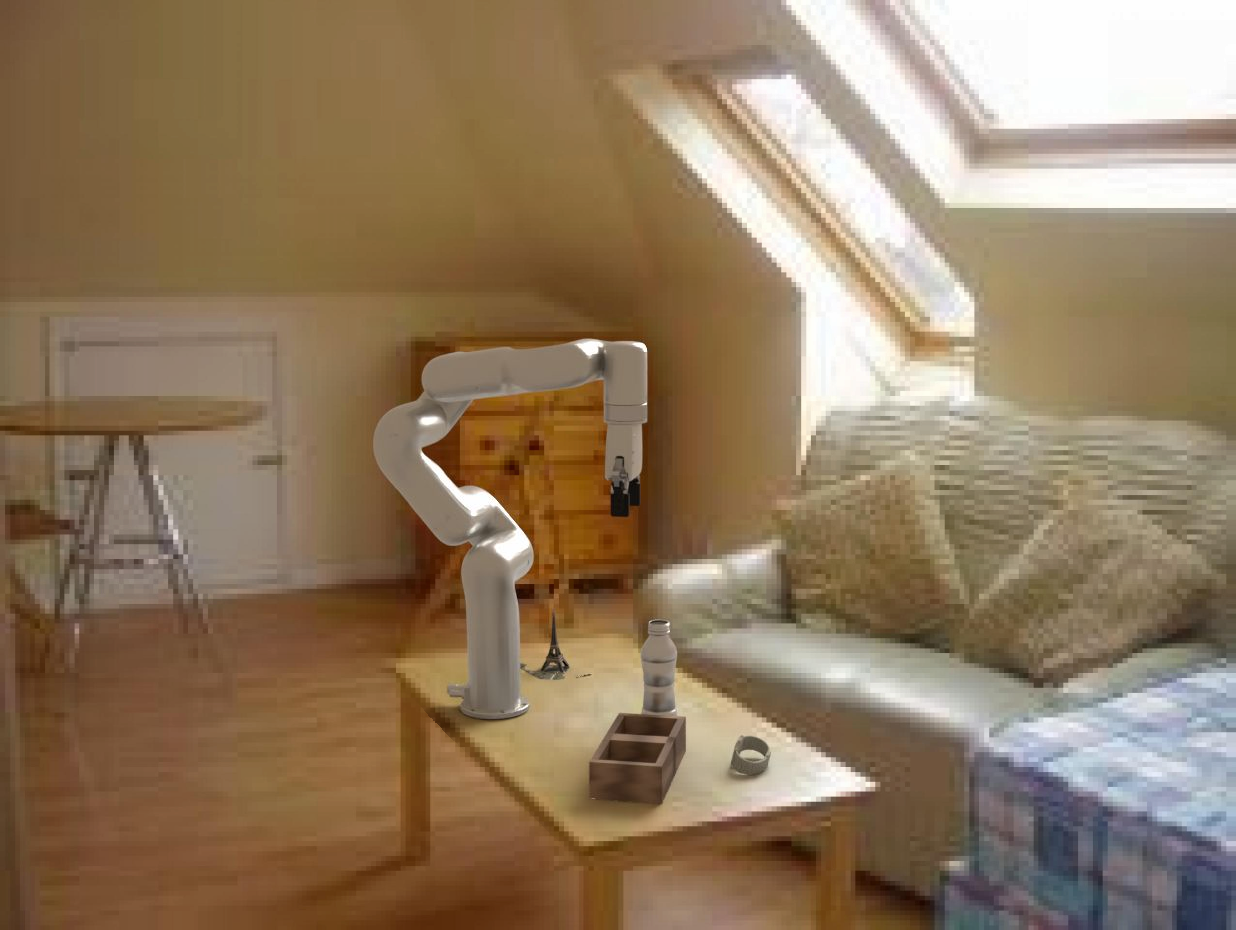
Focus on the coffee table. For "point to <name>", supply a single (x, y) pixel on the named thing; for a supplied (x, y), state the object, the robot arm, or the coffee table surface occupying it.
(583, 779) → the coffee table surface
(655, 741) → the bottle rack
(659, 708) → the plastic bottle
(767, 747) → the wristwatch
